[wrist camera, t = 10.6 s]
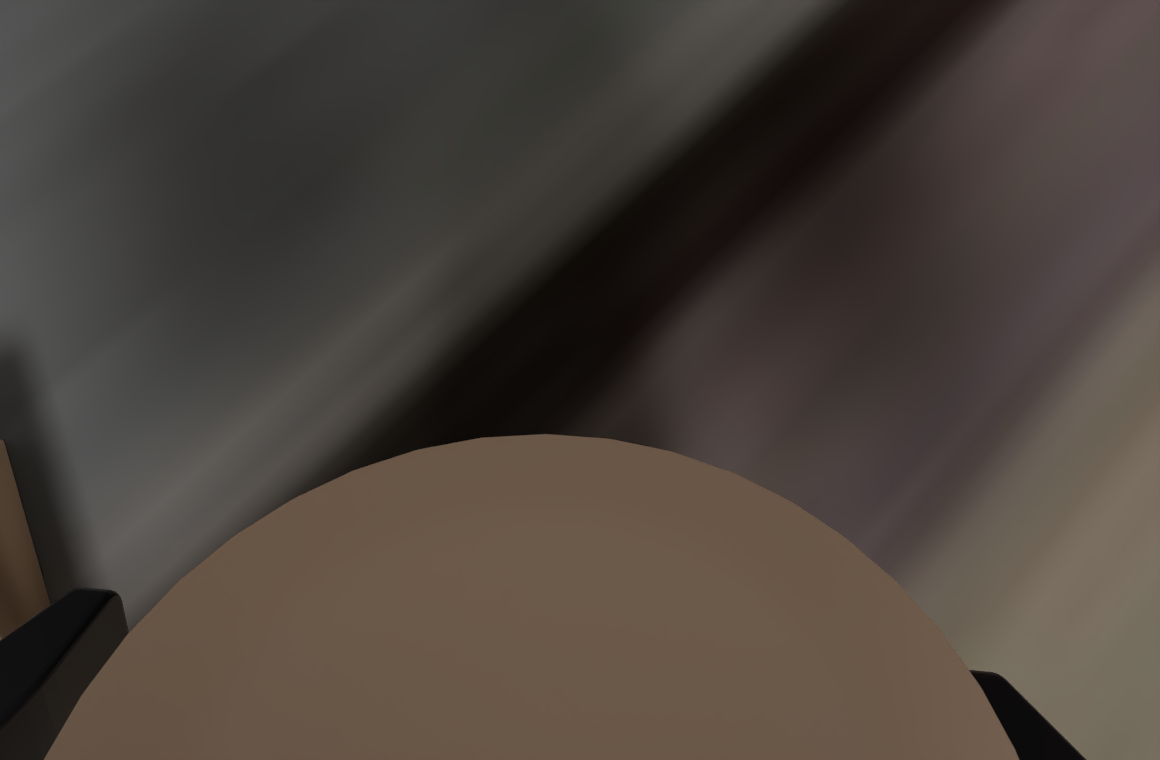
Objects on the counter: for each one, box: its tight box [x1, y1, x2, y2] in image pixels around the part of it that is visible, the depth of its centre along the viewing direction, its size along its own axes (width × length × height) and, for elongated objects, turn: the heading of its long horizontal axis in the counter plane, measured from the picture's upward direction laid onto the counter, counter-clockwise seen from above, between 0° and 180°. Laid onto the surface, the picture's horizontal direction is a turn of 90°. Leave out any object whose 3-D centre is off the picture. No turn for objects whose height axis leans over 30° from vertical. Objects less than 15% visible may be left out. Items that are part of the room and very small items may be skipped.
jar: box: [44, 434, 1019, 760], centre depth 11 cm, size 6×6×13 cm
